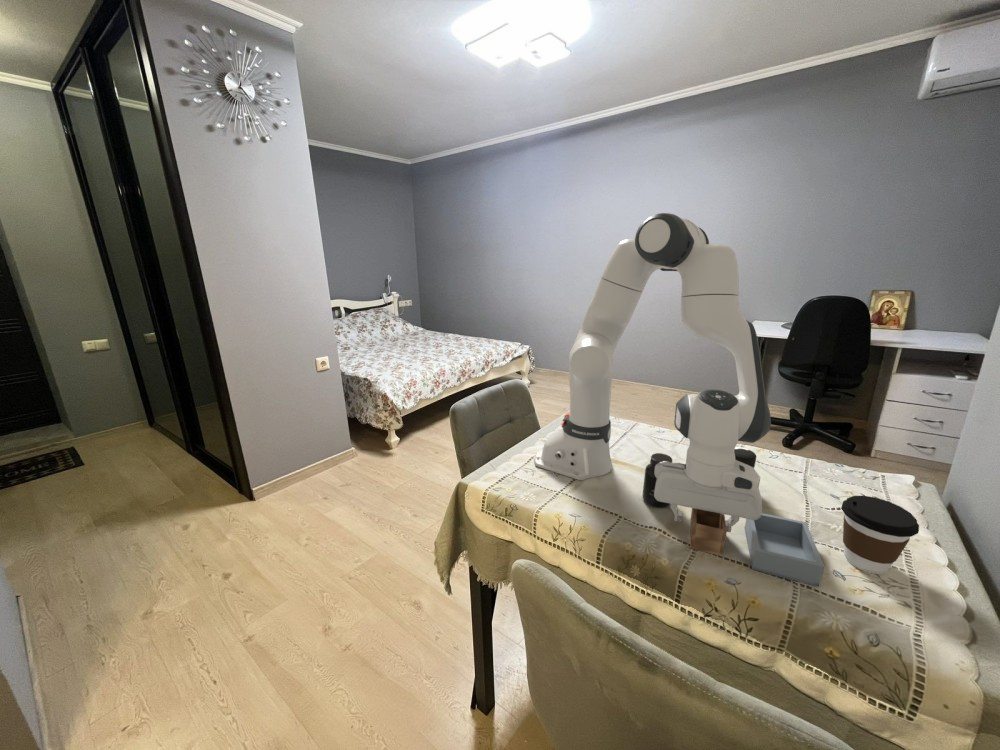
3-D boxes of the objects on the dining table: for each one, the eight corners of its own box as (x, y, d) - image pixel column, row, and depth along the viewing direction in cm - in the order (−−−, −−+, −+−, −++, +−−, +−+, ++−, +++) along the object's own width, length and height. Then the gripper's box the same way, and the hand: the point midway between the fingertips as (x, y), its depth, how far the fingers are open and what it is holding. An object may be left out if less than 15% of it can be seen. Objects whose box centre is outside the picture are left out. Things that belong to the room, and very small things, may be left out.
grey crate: (752, 569, 78) (755, 550, 77) (744, 527, 90) (747, 510, 89) (819, 586, 74) (824, 566, 73) (801, 540, 86) (806, 522, 84)
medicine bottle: (756, 502, 99) (764, 459, 95) (724, 499, 100) (731, 456, 96) (745, 486, 105) (752, 445, 102) (715, 484, 107) (722, 443, 103)
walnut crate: (690, 548, 84) (693, 524, 83) (690, 523, 92) (693, 500, 90) (722, 556, 82) (726, 531, 80) (719, 529, 90) (723, 506, 88)
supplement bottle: (653, 511, 96) (658, 466, 93) (636, 495, 103) (640, 453, 99) (677, 505, 98) (683, 462, 95) (659, 490, 104) (664, 449, 101)
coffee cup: (832, 569, 78) (846, 516, 74) (827, 536, 87) (839, 488, 83) (909, 593, 72) (929, 537, 69) (896, 556, 81) (912, 504, 77)
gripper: (654, 466, 85) (649, 522, 89) (768, 485, 77) (757, 546, 81) (656, 453, 90) (651, 506, 94) (763, 469, 82) (753, 527, 86)
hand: (701, 524), depth 87 cm, fingers open, 8 cm apart
